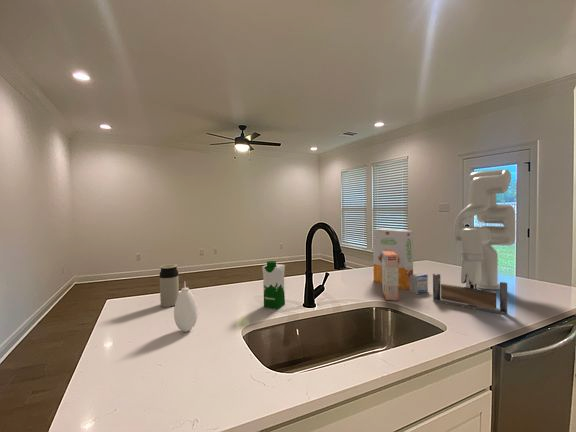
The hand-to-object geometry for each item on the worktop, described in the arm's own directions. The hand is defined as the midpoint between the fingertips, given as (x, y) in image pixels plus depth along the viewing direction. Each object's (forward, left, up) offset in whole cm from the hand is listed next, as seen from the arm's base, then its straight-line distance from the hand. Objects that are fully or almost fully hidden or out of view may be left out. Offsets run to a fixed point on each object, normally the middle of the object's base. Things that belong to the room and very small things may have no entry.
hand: (472, 299), depth 126 cm
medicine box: (-6, -24, -3) cm, 25 cm away
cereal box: (-12, -40, -3) cm, 42 cm away
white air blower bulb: (+93, -72, -3) cm, 117 cm away
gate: (+4, -1, -1) cm, 4 cm away
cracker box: (+10, -32, -3) cm, 34 cm away
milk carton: (+54, -66, -3) cm, 85 cm away
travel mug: (+83, -105, -3) cm, 134 cm away
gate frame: (+3, -1, -2) cm, 4 cm away
